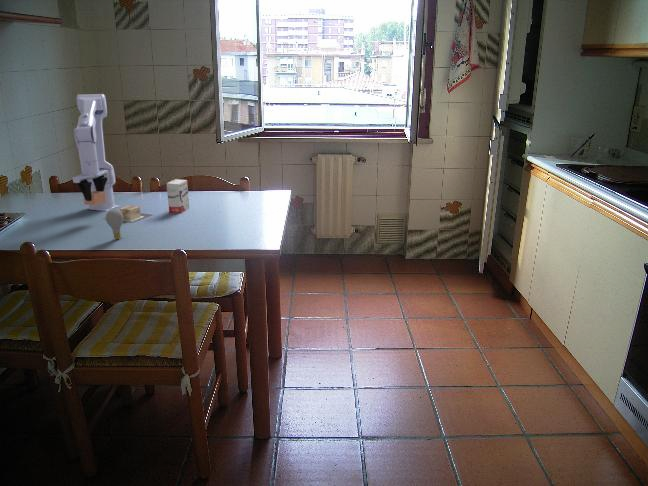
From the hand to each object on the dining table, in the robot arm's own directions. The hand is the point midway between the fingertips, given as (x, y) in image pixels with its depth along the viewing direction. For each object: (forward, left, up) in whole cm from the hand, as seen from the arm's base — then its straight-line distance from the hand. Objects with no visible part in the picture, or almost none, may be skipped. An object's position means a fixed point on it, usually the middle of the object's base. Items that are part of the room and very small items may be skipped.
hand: (94, 198), depth 194 cm
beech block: (+8, +9, -9) cm, 14 cm away
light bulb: (+21, -12, -9) cm, 26 cm away
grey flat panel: (+6, +10, -9) cm, 14 cm away
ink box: (+18, +24, -9) cm, 32 cm away
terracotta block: (0, 0, -2) cm, 2 cm away
